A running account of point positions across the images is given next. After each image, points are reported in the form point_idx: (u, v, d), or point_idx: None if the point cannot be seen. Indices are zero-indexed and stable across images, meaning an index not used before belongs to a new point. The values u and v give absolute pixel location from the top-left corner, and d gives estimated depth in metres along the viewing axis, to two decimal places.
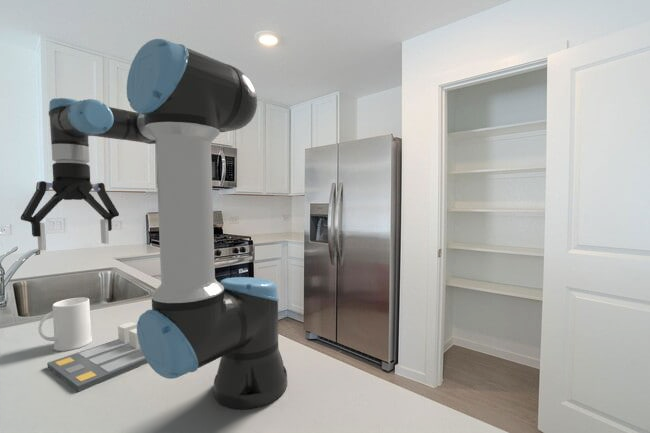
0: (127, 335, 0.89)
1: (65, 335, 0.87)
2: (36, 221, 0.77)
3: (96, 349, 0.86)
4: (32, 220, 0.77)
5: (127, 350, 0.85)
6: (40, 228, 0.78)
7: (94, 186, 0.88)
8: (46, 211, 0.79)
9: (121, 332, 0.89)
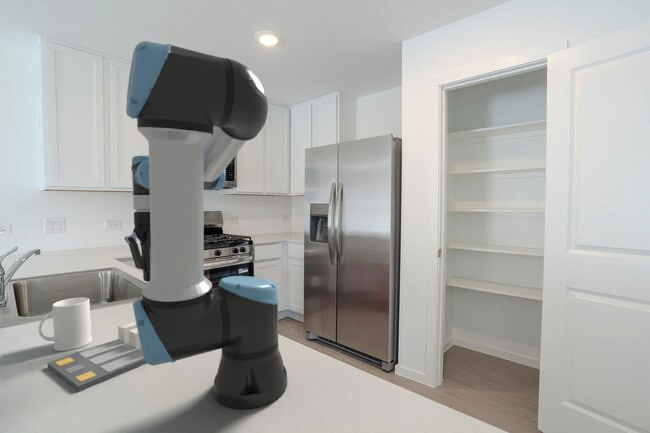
0: (127, 335, 0.89)
1: (65, 335, 0.87)
2: (148, 269, 0.94)
3: (96, 349, 0.86)
4: (145, 270, 0.94)
5: (127, 350, 0.85)
6: (150, 274, 0.95)
7: None
8: (148, 258, 0.94)
9: (121, 332, 0.89)
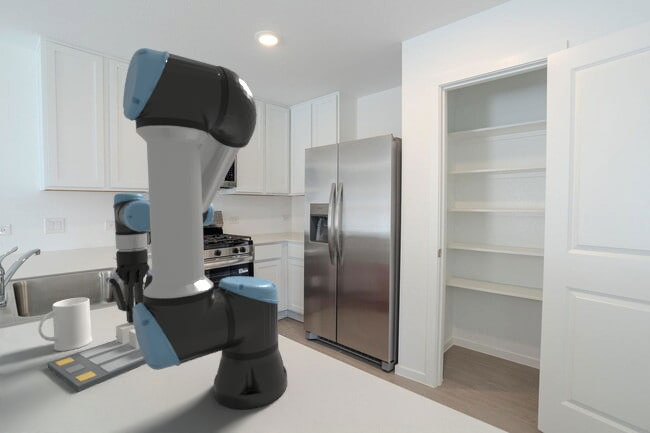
0: (125, 336, 0.89)
1: (65, 335, 0.87)
2: (132, 310, 0.91)
3: (96, 349, 0.86)
4: (128, 311, 0.90)
5: (127, 350, 0.85)
6: None
7: (149, 270, 0.95)
8: (131, 299, 0.90)
9: (119, 332, 0.89)
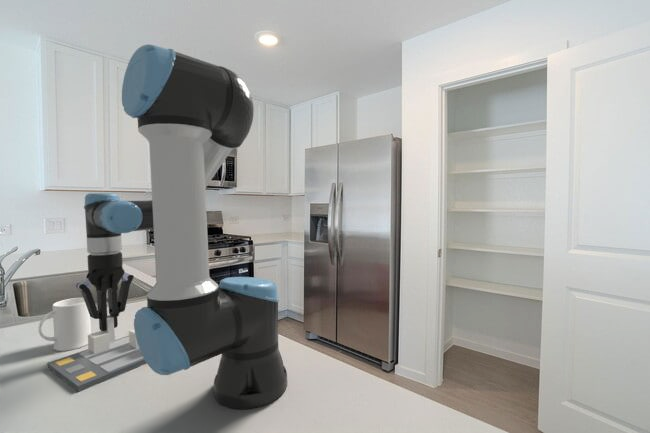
0: (97, 345, 0.83)
1: (65, 335, 0.87)
2: (104, 318, 0.85)
3: None
4: (101, 319, 0.85)
5: (127, 350, 0.85)
6: (107, 323, 0.86)
7: (124, 275, 0.90)
8: (104, 306, 0.85)
9: (91, 342, 0.84)
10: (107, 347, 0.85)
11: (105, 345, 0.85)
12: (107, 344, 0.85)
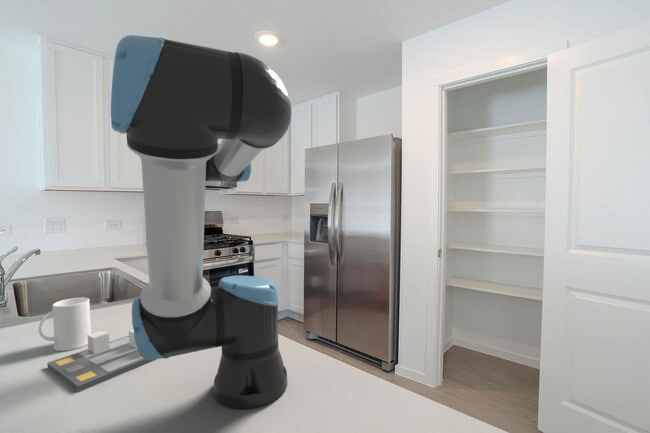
0: (97, 345, 0.83)
1: (65, 335, 0.87)
2: None
3: None
4: None
5: (127, 350, 0.85)
6: None
7: None
8: None
9: (90, 342, 0.83)
10: (107, 347, 0.85)
11: (105, 346, 0.85)
12: (107, 344, 0.85)
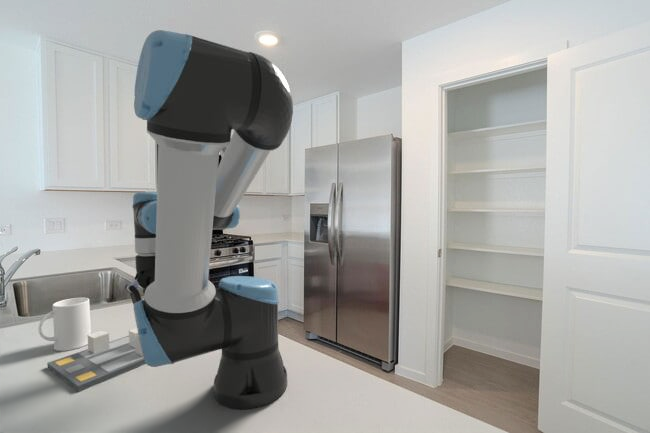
0: (97, 345, 0.83)
1: (65, 335, 0.87)
2: None
3: None
4: None
5: (127, 350, 0.85)
6: None
7: None
8: None
9: (90, 342, 0.83)
10: (107, 347, 0.85)
11: (105, 346, 0.85)
12: (107, 344, 0.85)
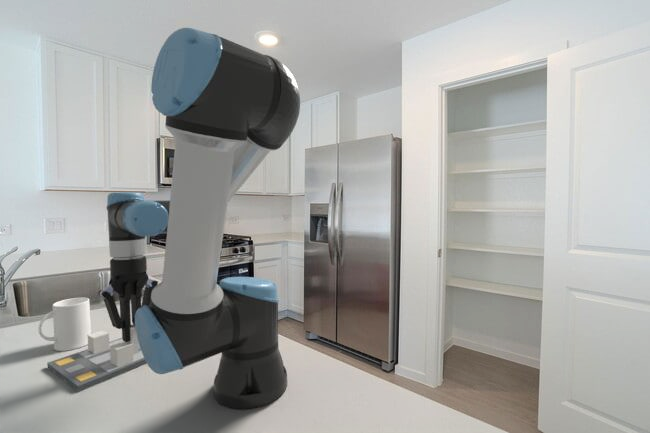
0: (97, 345, 0.83)
1: (65, 335, 0.87)
2: (128, 327, 0.78)
3: None
4: (124, 328, 0.78)
5: None
6: (130, 333, 0.79)
7: (148, 281, 0.83)
8: (128, 315, 0.78)
9: (90, 342, 0.83)
10: (107, 347, 0.85)
11: (105, 346, 0.85)
12: (107, 344, 0.85)
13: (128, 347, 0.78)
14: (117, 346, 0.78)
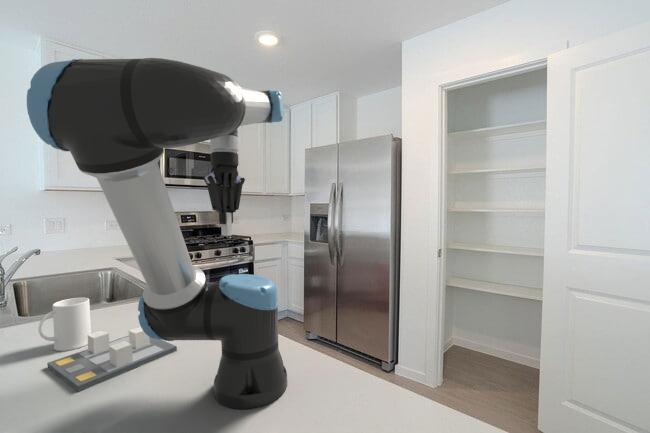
0: (97, 345, 0.83)
1: (65, 335, 0.87)
2: (225, 211, 0.92)
3: None
4: (222, 212, 0.92)
5: None
6: (226, 217, 0.93)
7: (238, 177, 0.97)
8: (225, 200, 0.92)
9: (90, 342, 0.83)
10: (107, 347, 0.85)
11: (105, 346, 0.85)
12: (107, 344, 0.85)
13: (127, 347, 0.78)
14: (116, 346, 0.78)
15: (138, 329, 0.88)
